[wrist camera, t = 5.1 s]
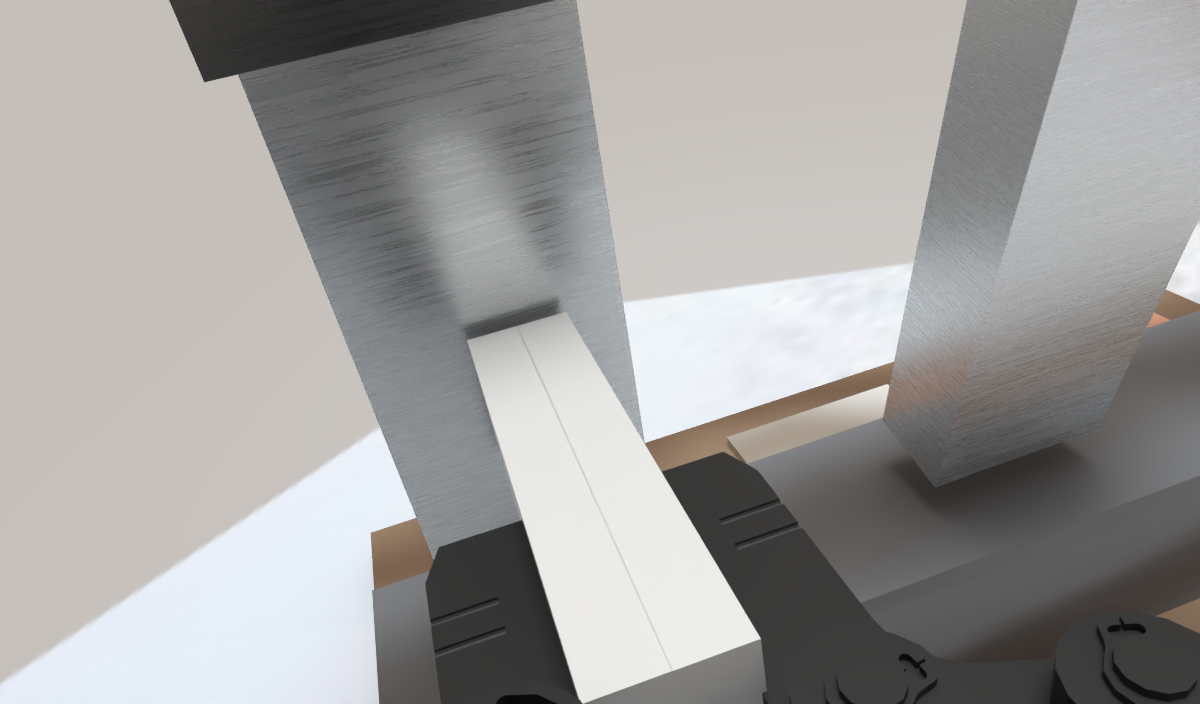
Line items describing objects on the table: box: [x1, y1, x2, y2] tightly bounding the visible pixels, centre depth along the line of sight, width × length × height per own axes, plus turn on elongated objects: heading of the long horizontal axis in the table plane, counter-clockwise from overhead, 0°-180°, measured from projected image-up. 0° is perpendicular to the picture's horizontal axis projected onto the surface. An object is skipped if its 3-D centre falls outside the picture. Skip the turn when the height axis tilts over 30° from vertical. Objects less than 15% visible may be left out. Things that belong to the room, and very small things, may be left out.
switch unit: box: [371, 290, 1200, 704], centre depth 22 cm, size 16×30×5 cm, turn 106°
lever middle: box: [882, 0, 1200, 487], centre depth 14 cm, size 3×5×14 cm, turn 107°
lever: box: [169, 0, 645, 560], centre depth 13 cm, size 3×5×14 cm, turn 106°
